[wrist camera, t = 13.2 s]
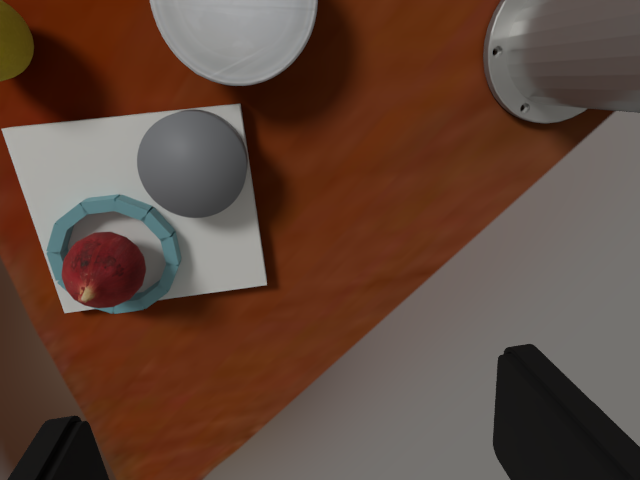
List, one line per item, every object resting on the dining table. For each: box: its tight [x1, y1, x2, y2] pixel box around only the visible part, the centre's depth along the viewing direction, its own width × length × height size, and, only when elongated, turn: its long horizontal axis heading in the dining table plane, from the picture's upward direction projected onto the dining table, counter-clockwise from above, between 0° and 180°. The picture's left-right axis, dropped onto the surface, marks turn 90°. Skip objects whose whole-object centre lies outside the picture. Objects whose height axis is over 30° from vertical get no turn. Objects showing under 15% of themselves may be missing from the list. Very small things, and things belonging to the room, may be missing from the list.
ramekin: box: [150, 0, 318, 86], centre depth 31 cm, size 11×11×5 cm
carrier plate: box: [2, 104, 267, 314], centre depth 36 cm, size 18×16×4 cm
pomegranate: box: [62, 232, 146, 308], centre depth 34 cm, size 6×6×8 cm
